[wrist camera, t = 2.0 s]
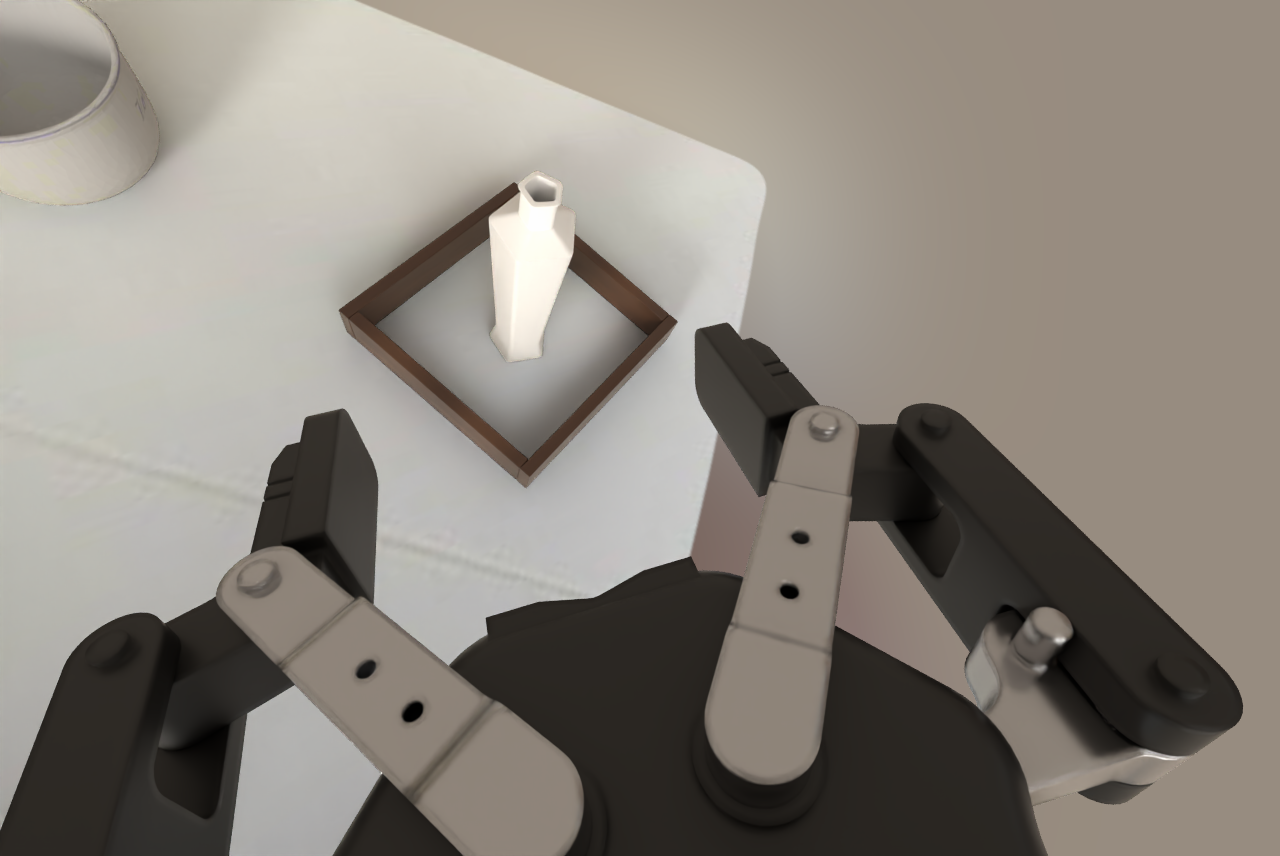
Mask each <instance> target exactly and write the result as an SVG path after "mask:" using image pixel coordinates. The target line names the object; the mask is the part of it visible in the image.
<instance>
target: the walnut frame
mask: <svg viewBox="0 0 1280 856" xmlns="http://www.w3.org/2000/svg"><path fill="white" fill-rule="evenodd" d="M519 192H520V190H519V188H518V185H517V184H516V183H515V182H514V183H512V184H511V185H510V186H508V187H507V188H506V189H504V190H503V191H501V192H500V193H499V194H497V195H496V196H495V197H493V198H492V199H490V200H489V201H488V202H486V203H485V204H484V205H482V206H481V207H479V208H478V209H477V210H475V211H474V212H473V213H471V214H470V215H468V216H467V217H466V218H464V219H463V220H462V221H460V222H459V223H458V224H456V225H455V226H453V227H452V228H451V229H449V230H448V231H447V232H445V233H444V234H442V235H441V236H440V237H438V238H437V239H436V240H434V241H433V242H431V243H430V244H429V245H427V246H426V247H425V248H423V249H422V250H420V251H419V252H418V253H416V254H415V255H414V256H412V257H411V258H409V259H408V260H407V261H405V262H404V263H403V264H401V265H400V266H398V267H397V268H396V269H394V270H393V271H392V272H390V273H389V274H388V275H386V276H385V277H383V278H382V279H381V280H379V281H378V282H377V283H375V284H374V285H372V286H371V287H370V288H368V289H367V290H366V291H364V292H363V293H361V294H360V295H359V296H357V297H356V298H355V299H353V300H352V301H350V302H349V303H348V304H346V305H345V306H344V307H342V308H341V309H339V312H340V315H341V317H342V320H343V322H344V325H345V328H346V330H347V332H348V333H349V334H350V335H351V336H352V337H353V338H355V339H356V340H357V341H358V342H359V343H360V344H362V345H363V346H364V347H365V348H366V349H367V350H368V351H370V352H371V353H372V354H373V355H374V356H375V357H376V358H378V359H379V360H380V361H381V362H382V363H383V364H384V365H386V366H387V367H388V368H389V369H390V370H391V371H392V372H394V373H395V374H396V375H397V376H398V377H399V378H401V379H402V380H403V381H404V382H405V383H406V384H407V385H409V386H410V387H411V388H412V389H413V390H414V391H415V392H417V393H418V394H419V395H420V396H421V397H422V398H423V399H425V400H426V401H427V402H428V403H429V404H430V405H431V406H433V407H434V408H435V409H436V410H437V411H438V412H439V413H441V414H442V415H443V416H444V417H445V418H446V419H447V420H449V421H450V422H451V423H452V424H453V425H454V426H455V427H457V428H458V429H459V430H460V431H461V432H462V433H463V434H465V435H466V436H467V437H468V438H469V439H470V440H472V441H473V442H474V443H475V444H476V445H477V446H478V447H480V448H481V449H482V450H483V451H484V452H485V453H486V454H488V455H489V456H490V457H491V458H492V459H493V460H494V461H496V462H497V463H498V464H499V465H500V466H501V467H502V468H504V469H505V470H506V471H507V472H508V473H509V474H510V475H512V476H513V477H514V478H515V479H517V481H518V482H519V483H521V484H522V485H523V486H524V487H525V488H527V487H528V486H529V485H530V484H531V482H532V481H533V480H534V479H535V478H536V477H537V476H538V475H539V474H540V473H541V472H542V471H543V470H544V469H545V468H546V467H547V466H548V465H549V463H550V462H551V461H552V460H553V459H554V458H555V457H556V456H557V455H558V454H559V453H560V452H561V451H562V450H563V449H564V448H565V447H566V446H567V444H568V443H569V442H570V441H571V440H572V439H573V438H574V437H575V436H576V435H577V434H578V433H579V432H580V431H581V430H582V429H583V428H584V427H585V425H586V424H587V423H588V422H589V421H590V420H591V419H592V418H593V417H594V416H595V415H596V414H597V413H598V412H599V411H600V410H601V409H602V408H603V406H604V405H605V404H606V403H607V402H608V401H609V400H610V399H611V398H612V397H613V396H614V395H615V394H616V393H617V392H618V391H619V390H620V389H621V387H622V386H623V385H624V384H625V383H626V382H627V381H628V380H629V379H630V378H631V377H632V376H633V375H634V374H635V373H636V372H637V371H638V370H639V368H640V367H641V366H642V365H643V364H644V363H645V362H646V361H647V360H648V359H649V358H650V357H651V356H652V355H653V354H654V353H655V352H656V351H657V349H658V348H659V347H660V346H661V345H662V344H663V343H664V342H665V341H666V340H667V338H668V337H669V335H670V334H671V332H672V330H673V329H674V327H675V326H676V324H677V322H678V321H677V320H675V319H674V318H673V317H672V316H671V315H669V314H668V313H667V312H666V311H665V310H663V309H662V308H661V307H660V306H659V305H658V304H656V303H655V302H654V301H653V300H652V299H650V298H649V297H648V296H647V295H646V294H645V293H643V292H642V291H641V290H640V289H639V288H638V287H636V286H635V285H634V284H633V283H632V282H631V281H629V280H628V279H627V278H626V277H625V276H624V275H622V274H621V273H620V272H619V271H618V270H617V269H615V268H614V267H613V266H612V265H611V264H609V263H608V262H607V261H606V260H605V259H604V258H602V257H601V256H600V255H599V254H598V253H597V252H595V251H594V250H593V249H592V248H591V247H590V246H588V245H587V244H586V243H585V242H584V241H583V240H581V239H580V238H579V237H578V236H577V235H575V234H574V248H573V255H572V258H571V260H570V263H569V266H568V267H569V268H570V269H571V270H572V271H574V272H575V273H576V274H577V275H578V276H579V277H581V278H582V279H583V280H584V281H585V282H586V283H588V284H589V285H590V286H591V287H592V288H593V289H595V290H596V291H597V292H598V293H599V294H600V295H602V296H603V297H604V298H605V299H606V300H607V301H609V302H610V303H611V304H612V305H613V306H614V307H616V308H617V309H618V310H619V311H620V312H621V313H623V314H624V315H625V316H626V317H627V318H628V319H630V320H631V321H632V322H633V323H634V324H635V325H637V326H638V327H639V328H640V329H641V330H642V331H644V332H645V333H646V334H647V335H648V337H647V338H646V339H645V340H644V341H643V342H642V343H641V344H640V345H639V346H638V347H637V349H636V350H635V351H634V352H633V353H632V354H631V355H630V356H629V357H628V358H627V359H626V360H625V361H624V362H623V363H622V364H621V365H620V366H619V367H618V368H617V369H616V370H615V371H614V372H613V373H612V374H611V375H610V376H609V377H608V378H607V379H606V380H605V381H604V382H603V383H602V385H601V386H600V387H599V388H598V389H597V390H596V391H595V392H594V393H593V394H592V395H591V396H590V397H589V398H588V399H587V400H586V401H585V402H584V403H583V404H582V405H581V406H580V407H579V408H578V409H577V410H576V411H575V412H574V413H573V414H572V415H571V416H570V417H569V418H568V419H567V421H566V422H565V423H564V424H563V425H562V426H561V427H560V428H559V429H558V430H557V431H556V432H555V433H554V434H553V435H552V436H551V437H550V438H549V439H548V440H547V441H546V442H545V443H544V444H543V445H542V446H541V447H540V448H539V449H538V450H537V451H536V452H535V453H534V454H533V455H532V457H531V458H530V459H529V460H528V459H527V458H526V457H525V456H524V455H523V454H522V453H521V452H519V451H518V450H517V449H516V448H515V447H514V446H513V445H511V444H510V443H509V442H508V441H507V440H506V439H504V438H503V437H502V436H501V435H500V434H499V433H498V432H496V431H495V430H494V429H493V428H492V427H491V426H490V425H488V424H487V423H486V422H485V421H484V420H483V419H482V418H480V417H479V416H478V415H477V414H476V413H475V412H473V411H472V410H471V409H470V408H469V407H468V406H467V405H465V404H464V403H463V402H462V401H461V400H460V399H459V398H457V397H456V396H455V395H454V394H453V393H452V392H451V391H449V390H448V389H447V388H446V387H445V386H444V385H442V384H441V383H440V382H439V381H438V380H437V379H436V378H434V377H433V376H432V375H431V374H430V373H429V372H428V371H426V370H425V369H424V368H423V367H422V366H421V365H420V364H418V363H417V362H416V361H415V360H414V359H413V358H411V357H410V356H409V355H408V354H407V353H406V352H405V351H403V350H402V349H401V348H400V347H399V346H398V345H397V344H395V343H394V342H393V341H392V340H391V339H390V338H389V337H387V336H386V335H385V334H384V333H383V332H382V331H380V330H379V329H378V328H377V327H376V326H375V324H377V323H378V322H379V321H381V320H382V319H383V318H385V317H386V316H387V315H388V314H390V313H391V312H392V311H394V310H395V309H396V308H398V307H399V306H400V305H402V304H403V303H404V302H405V301H407V300H408V299H409V298H411V297H412V296H413V295H415V294H416V293H417V292H418V291H420V290H421V289H422V288H424V287H425V286H426V285H428V284H429V283H430V282H432V281H433V280H434V279H435V278H437V277H438V276H439V275H441V274H442V273H443V272H445V271H446V270H447V269H449V268H450V267H451V266H452V265H454V264H455V263H456V262H458V261H459V260H460V259H462V258H463V257H464V256H466V255H467V254H468V253H469V252H471V251H472V250H473V249H475V248H476V247H477V246H479V245H480V244H481V243H482V242H484V241H485V240H486V239H488V238H489V237H490V231H489V217H490V215H491V214H493V213H494V212H495V211H497V210H498V209H499V208H500V207H502V206H503V205H504V204H505V203H507V202H508V201H509V200H510V199H512V198H513V197H514V196H516V195H517V194H518V193H519Z"/></svg>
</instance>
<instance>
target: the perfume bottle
mask: <svg viewBox="0 0 1280 856" xmlns="http://www.w3.org/2000/svg"><path fill="white" fill-rule="evenodd" d="M518 188H519V190H520V192H519V193H518V194H517V195H516V196H514V197H513V198H512V199H510V200H509V201H508V202H507V203H505V204H504V205H503V206H502V207H500V208H499V209H498V210H497V211H495V212H494V213H493V214H491V215H490V217H489V231H490V245H491V259H492V273H493V287H494V302H495V316H496V325H495V326H494V328H493V329H492V331H491V332H490V338H491V339H492V341H493V342H494V344H495V345H496V347H497V348H498V350H499V352H500V353H501V355H502V356H503V358H504V359H505V360H506V361H507V362H516V361H522V360H529V359H535V358H540V357H541V356H542V352H543V340H544V329H545V327H546V324H547V321H548V319H549V316H550V313H551V311H552V308H553V305H554V303H555V300H556V298H557V295H558V292H559V290H560V287H561V284H562V282H563V279H564V276H565V274H566V271H567V268H568V266H569V263H570V260H571V258H572V255H573V248H574V233H575V219H576V214H575V212H574V211H573V210H571V209H569V208H567V207H565V206H563V205H561V202H562V189H563V185H562V183H561V182H560V181H559V180H557V179H555V178H552V177H550V176H548V175H546V174H544V173H542V172H539V171H534V172H532V173H531V174H530V175H529V176H527V177H526V178H525V179H523V180H522V181H521V182H520V183H519V184H518Z"/></svg>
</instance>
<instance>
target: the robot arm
mask: <svg viewBox="0 0 1280 856" xmlns="http://www.w3.org/2000/svg"><path fill="white" fill-rule="evenodd" d="M695 385H696V391H697V395H698V398H699V401H700V403H701V405H702V407H703V409H704V410H705V412H706V414H707V415H708V417H709V418H710V420H711V422H712V423H713V425H714V426H715V428H716V430H717V431H718V433H719V434H720V436H721V438H722V439H723V441H724V442H725V444H726V445H727V447H728V449H729V450H730V452H731V454H732V455H733V457H734V458H735V460H736V462H737V463H738V465H739V466H740V468H741V470H742V471H743V473H744V474H745V476H746V478H747V479H748V481H749V482H750V484H751V486H752V487H753V489H754V490H755V492H756V494H757V495H758V497H760V496H764V495H766V499H765V502H764V506H763V509H762V513H761V516H760V520H759V524H758V527H757V531H756V535H755V538H754V542H753V545H752V549H751V553H750V556H749V560H748V564H747V567H746V571H745V574H744V577H741V576H738V575H734V574H731V573H725V572H719V571H698V570H697V568H696V566H695V564H694V562H693V560H692V557H687V558H684V559H681V560H677V561H674V562H671V563H667V564H664V565H661V566H657V567H654V568H651V569H647V570H644V571H642V572H640V573H638V574H636V575H635V576H633V577H631V578H629V579H628V580H626V581H624V582H622V583H621V584H619V585H617V586H615V587H614V588H612V589H610V590H608V591H607V592H605V593H603V594H601V595H599V596H597V597H594V598H588V599H574V600H559V601H545V602H537V603H533V604H530V605H527V606H523V607H520V608H517V609H513V610H510V611H507V612H503V613H500V614H497V615H493V616H490V617H487V618H486V624H487V632H488V635H486V636H484V637H482V638H481V639H479V640H478V641H476V642H475V643H473V644H472V645H471V646H469V647H468V648H467V649H466V650H464V651H463V652H462V653H461V654H460V655H459V656H458V657H457V658H456V659H455V660H454V661H453V662H452V663H451V664H450V665H449V666H448V665H447V664H446V663H444V662H443V661H442V660H441V659H439V658H438V657H437V656H436V655H435V654H433V653H432V652H431V651H430V650H428V649H427V648H426V647H425V646H423V645H422V644H421V643H420V642H419V641H417V640H416V639H415V638H414V637H412V636H411V635H410V634H409V633H407V632H406V631H405V630H404V629H402V628H401V627H400V626H399V625H398V624H396V623H395V622H394V621H393V620H391V619H390V618H389V617H388V616H386V615H385V614H384V613H383V612H381V611H380V610H379V609H378V608H377V607H375V606H374V581H375V556H376V531H377V506H378V478H377V473H376V470H375V466H374V463H373V461H372V459H371V457H370V455H369V453H368V451H367V449H366V447H365V445H364V443H363V441H362V439H361V437H360V435H359V433H358V431H357V429H356V427H355V425H354V423H353V421H352V419H351V417H350V416H349V414H348V412H347V411H346V410H345V409H339V410H334V411H330V412H325V413H321V414H317V415H312V416H308V417H306V418H305V420H304V425H303V430H302V435H301V440H300V442H299V443H295V444H291V445H286V446H285V448H284V449H283V450H282V452H281V453H280V454H279V455H278V457H277V458H276V459H275V461H274V462H273V463H272V465H271V469H270V474H269V478H268V482H267V484H268V486H267V487H266V490H265V494H264V501H265V502H263V503H262V507H261V511H260V515H259V520H258V524H257V528H256V532H255V536H254V541H253V545H252V549H251V553H250V555H248V556H246V557H245V558H243V559H242V560H240V561H239V562H238V563H236V564H235V565H234V566H233V567H232V568H231V569H230V570H229V571H228V572H227V573H226V574H225V575H224V577H223V578H222V580H221V581H220V583H219V586H218V588H217V592H216V597H214V598H213V599H211V600H209V601H208V602H206V603H204V604H202V605H200V606H198V607H196V608H194V609H192V610H190V611H188V612H186V613H184V614H182V615H180V616H178V617H177V618H175V619H173V620H171V621H169V622H167V623H164V622H162V621H161V620H160V619H159V618H158V617H157V616H155V615H153V614H150V613H133V614H129V615H125V616H122V617H120V618H117V619H115V620H113V621H111V622H108V623H107V624H105V625H103V626H102V627H100V628H98V629H97V630H96V631H94V632H93V633H91V634H90V635H89V636H88V637H87V638H85V639H84V640H83V641H82V642H81V643H80V644H79V645H78V646H77V647H76V648H75V650H74V651H73V652H72V653H71V655H70V656H69V658H68V659H67V661H66V663H65V665H64V667H63V670H62V672H61V675H60V677H59V680H58V683H57V685H56V688H55V690H54V693H53V696H52V698H51V701H50V703H49V706H48V708H47V711H46V714H45V716H44V719H43V721H42V724H41V727H40V729H39V732H38V734H37V737H36V740H35V742H34V745H33V747H32V750H31V752H30V755H29V758H28V760H27V763H26V765H25V768H24V771H23V773H22V776H21V778H20V781H19V784H18V786H17V789H16V791H15V794H14V797H13V799H12V802H11V804H10V807H9V809H8V812H7V815H6V817H5V820H4V822H3V825H2V828H1V830H0V856H229V851H230V843H231V836H232V828H233V820H234V813H235V805H236V797H237V789H238V782H239V774H240V766H241V758H242V751H243V743H244V735H245V727H246V720H247V713H248V712H250V711H252V710H253V709H255V708H257V707H259V706H260V705H262V704H264V703H265V702H267V701H269V700H270V699H272V698H274V697H275V696H277V695H279V694H280V693H282V692H284V691H285V690H287V689H289V688H290V687H292V686H294V685H295V686H296V687H297V688H298V689H299V690H300V691H301V692H302V693H303V694H304V695H305V696H306V697H307V698H308V699H309V700H310V701H311V702H312V703H313V704H314V705H315V706H316V707H317V708H318V709H319V710H320V711H321V712H322V713H323V714H324V715H325V716H326V717H327V718H328V719H329V720H330V721H331V722H332V723H333V724H334V725H335V726H336V727H337V728H338V730H339V731H340V732H341V733H342V734H343V735H344V736H345V737H346V738H347V739H348V740H349V741H350V742H351V743H352V744H353V745H354V746H355V747H356V748H357V749H358V750H359V751H360V752H361V753H362V754H363V755H364V756H365V757H366V758H367V759H368V760H369V761H370V762H371V763H372V764H373V765H374V766H375V768H376V769H377V770H378V771H379V772H380V773H381V775H380V777H379V779H378V780H377V782H376V784H375V785H374V787H373V789H372V790H371V792H370V794H369V795H368V797H367V799H366V800H365V802H364V804H363V805H362V807H361V809H360V810H359V812H358V814H357V815H356V817H355V819H354V820H353V822H352V824H351V825H350V827H349V829H348V830H347V832H346V834H345V835H344V837H343V839H342V841H341V842H340V844H339V846H338V847H337V849H336V851H335V852H334V854H333V856H1048V854H1047V852H1046V849H1045V847H1044V844H1043V842H1042V839H1041V836H1040V833H1039V829H1038V826H1037V823H1036V819H1035V815H1034V811H1033V806H1036V805H1039V804H1042V803H1045V802H1048V801H1051V800H1054V799H1057V798H1060V797H1064V796H1067V795H1070V794H1073V793H1076V792H1078V793H1079V794H1081V795H1083V796H1085V797H1087V798H1088V799H1091V800H1094V801H1096V802H1100V803H1104V804H1113V805H1114V804H1121V803H1125V802H1127V801H1129V800H1130V799H1132V798H1133V797H1135V796H1136V795H1138V794H1139V793H1140V792H1142V791H1143V790H1144V789H1146V788H1147V787H1149V786H1150V785H1152V784H1153V783H1154V782H1156V781H1157V780H1158V779H1160V778H1161V777H1163V776H1164V775H1166V774H1167V773H1169V772H1170V771H1171V770H1173V769H1174V768H1176V767H1177V766H1178V765H1180V764H1181V763H1183V762H1184V761H1185V760H1187V759H1188V758H1190V757H1191V756H1192V755H1194V754H1195V753H1197V752H1198V751H1199V750H1201V749H1202V748H1204V747H1205V746H1206V745H1208V744H1209V743H1211V742H1212V741H1214V740H1215V739H1217V738H1218V737H1219V736H1221V735H1222V734H1224V733H1225V732H1226V731H1227V730H1229V729H1230V728H1232V727H1233V726H1235V725H1236V724H1237V723H1238V722H1239V720H1240V719H1241V716H1242V713H1243V703H1242V698H1241V695H1240V693H1239V690H1238V688H1237V687H1236V685H1235V683H1234V681H1233V680H1232V679H1231V677H1230V676H1229V675H1228V673H1227V672H1226V671H1225V670H1224V669H1223V668H1222V667H1221V666H1220V665H1219V664H1218V663H1217V662H1216V661H1215V660H1214V659H1213V658H1212V657H1211V656H1210V655H1209V654H1208V653H1207V652H1206V651H1205V650H1204V649H1203V648H1202V647H1200V645H1198V644H1197V643H1196V642H1195V641H1194V640H1193V639H1192V638H1191V637H1190V636H1189V635H1188V634H1187V633H1186V632H1185V631H1184V630H1183V629H1182V628H1181V627H1180V626H1179V625H1178V624H1177V623H1176V622H1175V621H1174V620H1173V619H1172V618H1171V617H1170V616H1169V615H1168V614H1167V613H1165V612H1164V611H1163V610H1162V609H1161V608H1160V607H1159V606H1158V605H1157V604H1156V603H1155V602H1154V601H1153V600H1152V599H1151V598H1150V597H1149V596H1148V595H1147V594H1146V593H1145V592H1144V591H1143V590H1142V589H1141V588H1140V587H1138V585H1137V584H1136V583H1135V582H1133V581H1132V580H1131V579H1130V578H1129V577H1128V576H1127V575H1126V574H1125V573H1124V572H1123V571H1122V570H1121V569H1120V568H1119V567H1118V566H1117V565H1116V564H1115V563H1114V562H1113V561H1112V560H1111V559H1110V558H1109V557H1108V556H1107V555H1105V553H1104V552H1102V550H1101V549H1100V548H1098V547H1097V546H1096V545H1095V544H1094V543H1093V542H1092V541H1091V540H1090V539H1089V538H1088V537H1087V536H1086V535H1085V534H1084V533H1083V532H1082V531H1081V530H1080V529H1079V528H1078V527H1077V526H1076V525H1075V524H1074V523H1073V522H1072V521H1071V520H1069V518H1068V517H1067V516H1065V515H1064V514H1063V513H1062V512H1061V511H1060V510H1059V509H1058V508H1057V507H1056V506H1055V505H1054V504H1053V503H1052V502H1051V501H1050V500H1049V499H1048V498H1047V497H1046V496H1045V495H1044V494H1042V492H1041V491H1040V490H1039V489H1038V488H1037V487H1036V486H1035V485H1033V483H1032V482H1030V481H1029V480H1028V479H1027V478H1026V477H1025V476H1024V475H1023V474H1022V473H1021V472H1020V471H1019V470H1018V469H1017V468H1016V467H1015V466H1014V465H1013V464H1012V463H1011V462H1010V461H1009V460H1008V459H1007V458H1006V457H1005V456H1004V455H1003V454H1002V453H1001V452H999V451H998V450H997V449H996V448H995V447H994V446H993V445H992V444H991V443H990V442H989V441H988V440H987V439H986V438H985V437H984V436H983V435H982V434H981V433H980V432H979V431H978V430H977V429H976V428H975V427H974V426H972V424H971V423H970V422H969V421H968V420H966V418H964V417H963V416H962V415H961V414H959V413H958V412H956V411H954V410H952V409H950V408H947V407H945V406H941V405H937V404H929V403H921V404H915V405H911V406H908V407H906V408H905V409H903V410H902V411H901V413H900V414H899V417H898V420H897V424H878V425H877V424H876V425H875V424H874V425H863V424H862V425H861V424H857V422H856V421H855V420H854V418H853V417H852V416H850V415H849V414H848V413H846V412H844V411H842V410H840V409H838V408H835V407H830V406H823V405H819V404H818V402H817V401H816V400H815V399H814V398H813V397H812V396H811V395H810V393H809V392H808V391H807V390H806V389H805V388H804V386H803V385H802V384H801V383H800V382H799V381H798V379H796V377H795V376H794V375H793V374H792V373H791V372H789V369H788V368H787V367H786V366H785V365H784V363H783V362H780V359H779V358H778V357H777V355H776V354H775V353H774V352H773V351H772V350H771V349H770V347H768V346H766V345H764V344H762V343H761V342H759V341H757V340H755V339H753V338H749V339H745V340H742V339H741V337H740V336H739V335H738V334H737V333H736V331H735V330H734V329H733V328H732V327H731V325H730V324H729V323H722V324H718V325H713V326H709V327H705V328H700V329H697V330H696V333H695ZM849 521H877V522H878V523H879V524H880V526H881V527H882V529H883V530H884V531H885V533H886V534H887V536H888V537H889V539H890V540H891V541H892V543H893V544H894V546H895V547H896V548H897V550H898V551H899V553H900V554H901V555H902V557H903V558H904V560H905V561H906V562H907V564H908V565H909V567H910V568H911V569H912V571H913V572H914V574H915V575H916V577H917V578H918V580H919V581H920V582H921V584H922V585H923V587H924V588H925V589H926V591H927V592H928V594H929V595H930V596H931V598H932V599H933V601H934V602H935V604H936V605H937V606H938V608H939V609H940V611H941V612H942V613H943V615H944V616H945V618H946V619H947V620H948V622H949V623H950V625H951V626H952V628H953V629H954V630H955V632H956V633H957V634H958V636H959V637H960V639H961V640H962V642H963V643H964V644H965V646H966V647H967V649H968V650H969V652H970V653H969V655H968V657H967V658H966V662H965V676H966V679H967V682H968V684H969V686H970V688H971V690H972V692H973V694H974V696H975V699H976V702H977V706H978V707H977V706H976V705H974V704H973V703H972V702H971V701H969V700H968V699H967V698H965V697H964V696H963V695H961V694H959V693H957V692H956V691H954V690H952V689H951V688H949V687H948V686H946V685H944V684H942V683H940V682H938V681H936V680H935V679H933V678H931V677H929V676H927V675H925V674H924V673H922V672H920V671H918V670H916V669H914V668H912V667H911V666H909V665H907V664H905V663H903V662H901V661H899V660H898V659H896V658H894V657H892V656H890V655H888V654H887V653H885V652H883V651H881V650H879V649H877V648H876V647H874V646H872V645H870V644H868V643H866V642H865V641H863V640H861V639H859V638H857V637H855V636H853V635H852V634H850V633H848V632H846V631H844V630H842V629H841V628H838V627H837V626H835V621H836V614H837V606H838V598H839V591H840V585H841V577H842V570H843V563H844V555H845V547H846V541H847V532H848V526H849Z"/></svg>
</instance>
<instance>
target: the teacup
mask: <svg viewBox="0 0 1280 856" xmlns="http://www.w3.org/2000/svg"><path fill="white" fill-rule="evenodd" d="M159 140H160V135H159V125H158V121H157V117H156V115H155V112H154V109H153V107H152V105H151V103H150V101H149V99H148V97H147V95H146V93H145V91H144V89H143V87H142V86H141V84H140V82H139V80H138V79H137V77H136V75H135V74H134V72H133V71H132V69H131V67H130V66H129V64H128V63H127V61H126V59H125V58H124V56H123V55H122V53H121V52H120V50H119V48H118V45H117V42H116V40H115V38H114V36H113V34H112V33H111V31H110V30H109V28H108V27H107V26H106V24H105V23H104V22H103V21H102V20H101V19H100V18H99V17H98V15H97V14H96V13H94V12H93V11H92V10H91V9H90V8H88V7H87V6H85V5H84V4H83V3H81V2H80V1H78V0H0V192H2V193H5V194H7V195H10V196H13V197H16V198H19V199H22V200H26V201H30V202H34V203H40V204H47V205H64V206H65V205H81V204H88V203H93V202H96V201H100V200H104V199H107V198H110V197H113V196H115V195H117V194H119V193H121V192H123V191H125V190H127V189H128V188H130V187H131V186H133V185H134V184H135V183H136V182H138V181H139V180H140V179H141V178H142V177H143V176H144V175H145V174H146V173H147V172H148V170H149V169H150V167H151V166H152V164H153V162H154V160H155V158H156V155H157V152H158V147H159Z"/></svg>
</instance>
